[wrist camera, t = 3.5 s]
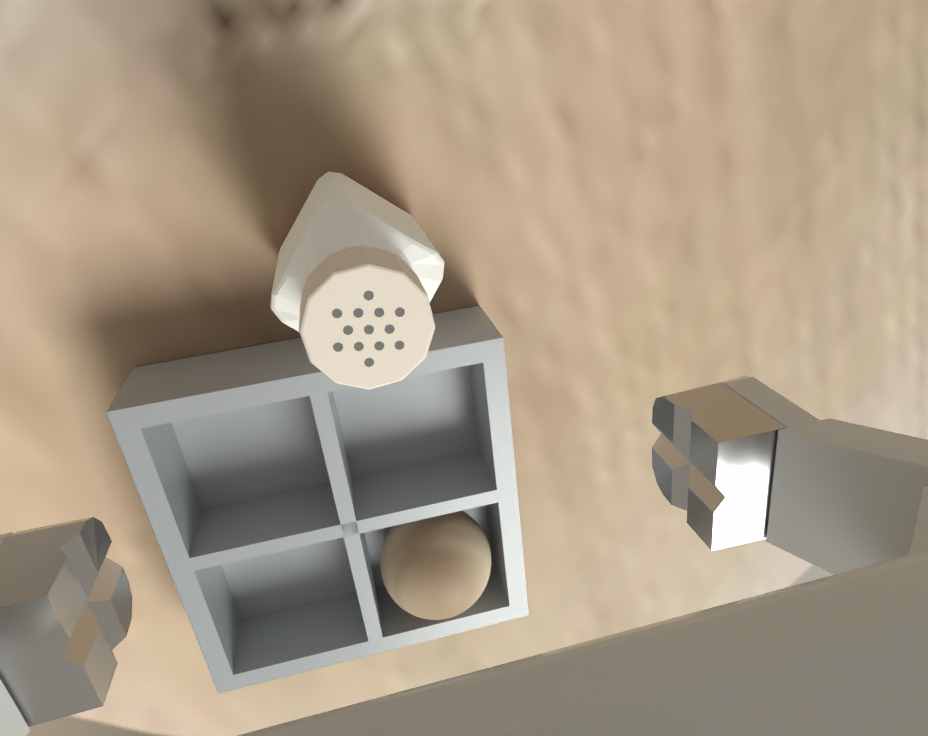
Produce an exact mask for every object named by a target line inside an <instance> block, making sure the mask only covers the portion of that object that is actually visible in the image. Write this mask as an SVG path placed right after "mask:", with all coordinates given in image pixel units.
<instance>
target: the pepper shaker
mask: <svg viewBox="0 0 928 736" xmlns="http://www.w3.org/2000/svg"><path fill="white" fill-rule="evenodd" d="M444 263H445V261H444V260H443V258H442V257H441V256H440V254H439V253H438V252H437V250H436V249H435V247H434V246H433V245H432V243H431V242H430V240H429V239H428V238H427V236H426V235H425V234H424V232H423V231H422V229H421V228H420V227H419V225H418V224H417V222H416V221H415V220H414V218H413V217H412V216H411V215H410V214H408V213H407V212H405V211H403V210H402V209H400V208H398V207H397V206H395V205H393V204H392V203H390V202H388V201H387V200H385V199H383V198H382V197H380V196H378V195H377V194H375V193H374V192H372V191H370V190H369V189H367V188H365V187H364V186H362V185H360V184H359V183H357V182H355V181H354V180H352V179H350V178H349V177H347V176H345V175H344V174H342V173H336V172H330V171H328V172H327V173H325V174H324V175H323V176H322V177H320V178H319V179H318V180H317V182H316V184H315V185H314V187H313V189H312V191H311V193H310V195H309V196H308V198H307V200H306V202H305V204H304V206H303V207H302V209H301V211H300V213H299V215H298V217H297V218H296V220H295V222H294V224H293V226H292V228H291V230H290V231H289V233H288V235H287V237H286V239H285V241H284V242H283V244H282V246H281V248H280V250H279V256H278V261H277V266H276V271H275V277H274V282H273V287H272V293H271V307H270V308H271V309H272V311H273V312H274V313H275V314H276V316H277V317H278V318H279V319H280V321H281V322H282V323H284V324H286V325H288V326H289V327H291V328H293V329H295V330H296V331H298V332H300V335H301V338H302V341H303V344H304V346H305V349H306V352H307V355H308V358H309V361H310V362H311V363H312V364H313V365H314V366H316V367H317V368H318V369H319V370H320V371H322V372H323V373H324V374H325V375H327V376H328V377H329V378H330V379H331V380H333V381H334V382H335V383H338V384H343V385H348V386H353V387H358V388H363V389H368V390H370V389H373V388H377V387H380V386H384V385H387V384H391V383H394V382H398V381H402V380H403V379H404V378H405V377H406V376H407V375H408V374H409V373H410V372H411V371H412V370H413V369H414V368H415V367H417V366H418V365H419V364H420V363H421V362H422V361H423V360H424V359H425V358H426V356H427V352H428V349H429V346H430V343H431V340H432V337H433V333H434V330H435V323H434V319H433V314H432V310H431V306H430V301H431V299H432V298H433V296H434V294H435V292H436V290H437V288H438V287H439V285H440V283H441V281H442V279H443V272H444Z"/></svg>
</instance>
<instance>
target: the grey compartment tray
mask: <svg viewBox="0 0 928 736" xmlns="http://www.w3.org/2000/svg"><path fill="white" fill-rule="evenodd" d="M433 319H434V323H435V330H434V333H433V337H432V340H431V343H430V346H429V349H428V352H427V356H426V358H425V359H424V360H423V361H422V362H421V363H420V364H419V365H418V366H417V367H415V368H414V369H413V370H412V371H411V372H410V373H409V374H408V375H407V376H406V377H405V378H404V379H403V380H402V381H398V382H394V383H391V384H387V385H384V386H380V387H377V388H373V389H370V390H368V389H363V388H358V387H353V386H348V385H343V384H338V383H335V382H334V381H333V380H331V379H330V378H329V377H328V376H327V375H325V374H324V373H323V372H322V371H320V370H319V369H318V368H317V367H316V366H314V365H313V364H312V363H311V362H310V361H309V358H308V355H307V352H306V349H305V346H304V344H303V341H302V338H295V339H290V340H284V341H278V342H273V343H267V344H262V345H256V346H250V347H245V348H239V349H234V350H228V351H223V352H217V353H211V354H206V355H200V356H195V357H189V358H183V359H178V360H172V361H167V362H161V363H156V364H150V365H144V366H139V367H134V368H133V370H132V371H131V373H130V375H129V376H128V378H127V379H126V381H125V383H124V384H123V386H122V388H121V389H120V391H119V392H118V394H117V396H116V397H115V399H114V401H113V402H112V404H111V405H110V407H109V409H108V410H107V415H108V417H109V420H110V422H111V425H112V427H113V430H114V432H115V435H116V437H117V440H118V442H119V445H120V447H121V450H122V453H123V455H124V458H125V460H126V463H127V465H128V468H129V470H130V473H131V475H132V478H133V480H134V483H135V485H136V488H137V490H138V493H139V495H140V498H141V500H142V503H143V505H144V508H145V510H146V513H147V515H148V518H149V521H150V523H151V526H152V528H153V531H154V533H155V536H156V538H157V541H158V543H159V546H160V548H161V551H162V553H163V556H164V558H165V561H166V563H167V566H168V568H169V571H170V573H171V576H172V578H173V581H174V583H175V586H176V589H177V591H178V594H179V596H180V599H181V601H182V604H183V606H184V609H185V611H186V614H187V616H188V619H189V621H190V624H191V626H192V629H193V631H194V634H195V636H196V639H197V641H198V644H199V646H200V649H201V651H202V654H203V657H204V659H205V662H206V664H207V667H208V669H209V672H210V674H211V677H212V679H213V682H214V684H215V687H216V689H217V692H218V694H219V693H223V692H227V691H231V690H235V689H239V688H243V687H247V686H251V685H255V684H259V683H263V682H267V681H271V680H275V679H278V678H282V677H286V676H290V675H294V674H298V673H302V672H306V671H310V670H314V669H318V668H322V667H326V666H330V665H334V664H338V663H342V662H346V661H350V660H354V659H357V658H361V657H365V656H369V655H373V654H377V653H381V652H385V651H389V650H393V649H397V648H401V647H405V646H409V645H413V644H417V643H421V642H425V641H429V640H433V639H436V638H440V637H444V636H448V635H452V634H456V633H460V632H464V631H468V630H472V629H476V628H480V627H484V626H488V625H492V624H496V623H500V622H504V621H508V620H512V619H515V618H519V617H523V616H527V615H529V614H528V603H527V592H526V581H525V570H524V559H523V548H522V537H521V526H520V515H519V504H518V493H517V483H516V472H515V461H514V450H513V439H512V428H511V417H510V406H509V395H508V384H507V373H506V362H505V351H504V341H503V337H502V335H501V334H500V333H499V331H498V330H497V329H496V327H495V326H494V324H493V323H492V322H491V320H490V319H489V318H488V316H487V315H486V314H485V312H484V311H483V310H482V308H481V307H480V305H479V306H474V307H468V308H463V309H457V310H451V311H446V312H440V313H435V314H433ZM458 511H464V512H465V513H467V514H468V515H469V516H471V517H472V518H473V519H474V520H475V521H476V522H477V523H478V524H479V526H480V527H481V528H482V530H483V532H484V533H485V536H486V538H487V540H488V543H489V547H490V551H491V571H490V576H489V579H488V582H487V585H486V587H485V589H484V591H483V592H482V594H481V596H480V597H479V598H478V600H477V601H476V602H475V603H474V604H473V605H472V606H471V607H469V608H468V609H467V610H466V611H464V612H462V613H461V614H459V615H456V616H454V617H451V618H447V619H442V620H429V619H423V618H419V617H416V616H414V615H412V614H410V613H408V612H406V611H405V610H403V609H402V608H401V607H400V606H399V605H398V604H397V603H396V602H395V601H394V600H393V599H392V597H391V596H390V595H389V593H388V591H387V589H386V587H385V585H384V582H383V579H382V575H381V569H380V556H381V550H382V546H383V543H384V540H385V538H386V536H387V534H388V532H389V530H390V529H391V528H392V526H396V525H400V524H404V523H409V522H413V521H418V520H422V519H427V518H431V517H436V516H440V515H444V514H449V513H453V512H458Z"/></svg>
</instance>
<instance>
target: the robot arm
mask: <svg viewBox="0 0 928 736" xmlns="http://www.w3.org/2000/svg"><path fill="white" fill-rule="evenodd" d="M652 423H653V424H654V425H655V427H656V428H657V429H658V430H659V431H660V432H661V435H660V436H659V438H658V439H657V441H656V442H655V444H654V445H653V447H652V466H653V470H654V474H655V477H656V481H657V484H658V486H659V488H660V489H661V491H662V493H663V495H664V496H665V497H666V499H667V500H668V501H669V502H670V503H671V505H674V506H676V507H679V508H681V509H684V510H687V523H688V524H689V525H690V527H691V528H692V529H693V530H694V531H695V532H696V533H697V535H698V536H699V537H700V538H701V539H702V540H703V541H704V542H705V544H706V545H707V546H708V547H709V548H710V549H711V550H712V551H713V550H718V549H722V548H727V547H731V546H736V545H740V544H745V543H749V542H753V541H758V540H762V539H766V541H767V542H769V543H771V544H773V545H775V546H777V547H779V548H781V549H783V550H785V551H787V552H789V553H791V554H793V555H795V556H797V557H799V558H801V559H803V560H805V561H807V562H809V563H811V564H814V565H816V566H818V567H820V568H822V569H824V570H826V571H828V572H830V573H832V574H834V575H832V576H828V577H825V578H821V579H817V580H813V581H810V582H806V583H802V584H799V585H795V586H791V587H787V588H784V589H780V590H776V591H773V592H769V593H765V594H761V595H758V596H754V597H750V598H747V599H743V600H739V601H735V602H732V603H728V604H724V605H721V606H717V607H713V608H709V609H706V610H702V611H698V612H695V613H691V614H687V615H683V616H680V617H676V618H672V619H669V620H665V621H661V622H657V623H654V624H650V625H646V626H643V627H639V628H635V629H631V630H628V631H624V632H620V633H617V634H613V635H609V636H605V637H602V638H598V639H594V640H591V641H587V642H583V643H579V644H576V645H572V646H568V647H565V648H561V649H557V650H553V651H550V652H546V653H542V654H539V655H535V656H531V657H528V658H524V659H520V660H517V661H513V662H509V663H506V664H502V665H498V666H494V667H491V668H487V669H483V670H480V671H476V672H472V673H468V674H465V675H461V676H457V677H454V678H450V679H446V680H442V681H439V682H435V683H431V684H428V685H424V686H420V687H416V688H413V689H409V690H405V691H402V692H398V693H394V694H390V695H387V696H383V697H379V698H376V699H372V700H368V701H364V702H361V703H357V704H353V705H350V706H346V707H342V708H338V709H335V710H331V711H327V712H323V713H320V714H316V715H312V716H309V717H305V718H301V719H297V720H294V721H290V722H286V723H283V724H279V725H275V726H271V727H268V728H264V729H260V730H257V731H253V732H249V733H245V734H242V735H238V736H928V440H926V439H921V438H916V437H912V436H907V435H903V434H898V433H894V432H889V431H884V430H880V429H875V428H871V427H866V426H862V425H857V424H852V423H848V422H843V421H839V420H834V419H825V420H821V421H820V420H819V419H817V418H815V417H814V416H812V415H811V414H809V413H808V412H806V411H805V410H803V409H802V408H800V407H799V406H797V405H795V404H794V403H792V402H791V401H789V400H788V399H786V398H785V397H783V396H782V395H780V394H779V393H777V392H775V391H774V390H772V389H771V388H769V387H768V386H766V385H765V384H763V383H762V382H760V381H759V380H757V379H755V378H754V377H747V376H744V377H740V378H736V379H732V380H728V381H724V382H721V383H717V384H712V385H708V386H704V387H700V388H696V389H692V390H687V391H683V392H679V393H675V394H671V395H667V396H663V397H659V398H656V400H655V403H654V406H653V416H652ZM111 542H112V541H111V539H110V537H109V535H108V533H107V531H106V529H105V527H104V525H103V523H102V522H101V521H99V520H98V519H96V518H94V517H91V518H86V519H81V520H76V521H70V522H65V523H60V524H55V525H50V526H45V527H40V528H34V529H29V530H24V531H19V532H16V533H7V534H2V535H0V736H26V735H27V733H28V732H29V731H30V729H29V727H30V726H34V725H37V724H41V723H44V722H48V721H52V720H55V719H58V718H62V717H66V716H69V715H73V714H76V713H80V712H84V711H87V710H91V709H94V708H98V707H101V706H103V704H104V702H105V699H106V696H107V693H108V690H109V687H110V684H111V681H112V678H113V675H114V672H115V669H116V666H117V661H116V659H115V656H114V654H113V652H112V650H113V649H114V648H115V647H116V646H117V645H118V644H119V643H120V642H121V641H122V640H123V639H124V638H125V637H126V635H127V632H128V629H129V625H130V622H131V617H132V595H131V591H130V586H129V581H128V579H127V577H126V574H125V572H124V569H123V567H122V566H120V565H118V564H116V563H115V562H113V561H111V560H110V559H108V558H106V557H105V556H106V554H107V551H108V549H109V547H110V544H111Z"/></svg>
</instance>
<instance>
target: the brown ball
mask: <svg viewBox="0 0 928 736" xmlns="http://www.w3.org/2000/svg"><path fill="white" fill-rule="evenodd" d="M380 569H381V575H382V579H383V582H384V585H385V587H386V589H387V591H388V593H389V595H390V596H391V597H392V599H393V600H394V601H395V602H396V603H397V604H398V605H399V606H400V607H401V608H402V609H403V610H405V611H406V612H408V613H410V614H412V615H414V616H416V617H419V618H423V619H429V620H442V619H447V618H451V617H454V616H456V615H459V614H461V613H462V612H464V611H466V610H467V609H468V608H469V607H471V606H472V605H473V604H474V603H475V602H476V601H477V600H478V598H479V597H480V596H481V594H482V592H483V591H484V589H485V587H486V585H487V582H488V579H489V576H490V571H491V551H490V547H489V543H488V540H487V538H486V536H485V533H484V532H483V530H482V528H481V527H480V526H479V524H478V523H477V522H476V521H475V520H474V519H473V518H472V517H471V516H469V515H468V514H467V513H465V512H464V511H458V512H453V513H449V514H444V515H440V516H436V517H431V518H427V519H422V520H418V521H413V522H409V523H404V524H400V525H396V526H392V528H391V529H390V530H389V532H388V534H387V536H386V538H385V540H384V543H383V546H382V550H381V556H380Z"/></svg>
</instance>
